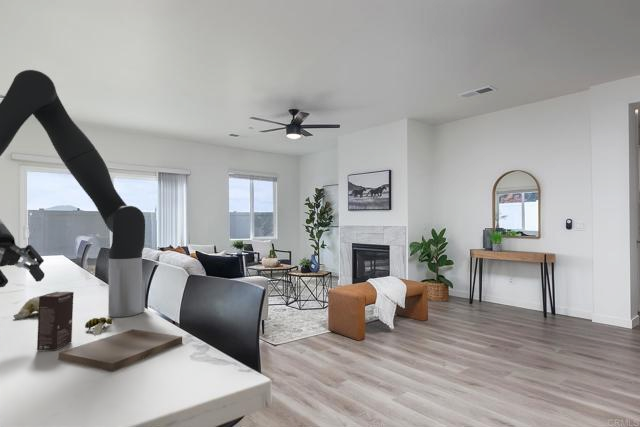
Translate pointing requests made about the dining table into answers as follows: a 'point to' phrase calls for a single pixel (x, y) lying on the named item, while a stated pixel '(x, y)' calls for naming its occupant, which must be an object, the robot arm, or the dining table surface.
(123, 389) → the dining table surface
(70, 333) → the box
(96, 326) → the insect
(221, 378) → the dining table surface
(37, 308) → the yellow plush toy
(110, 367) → the board
